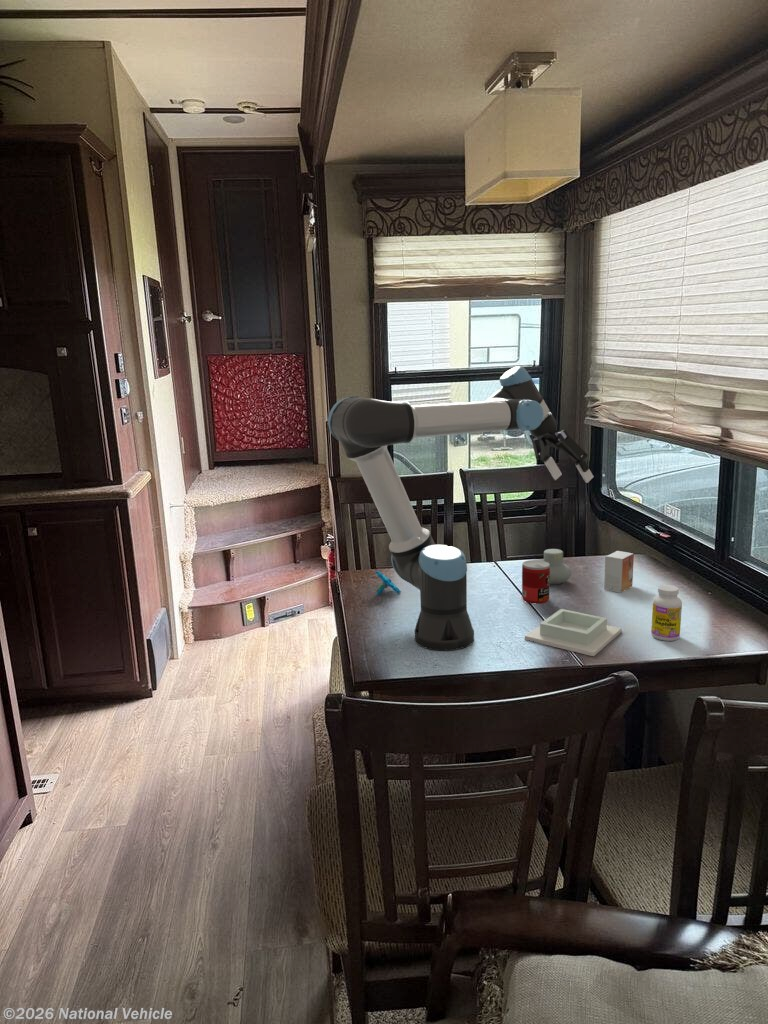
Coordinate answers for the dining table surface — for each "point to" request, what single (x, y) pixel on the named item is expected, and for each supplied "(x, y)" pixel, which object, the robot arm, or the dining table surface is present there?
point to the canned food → (535, 581)
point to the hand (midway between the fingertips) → (573, 478)
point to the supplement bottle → (666, 614)
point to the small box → (618, 571)
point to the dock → (574, 632)
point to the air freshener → (557, 566)
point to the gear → (386, 583)
